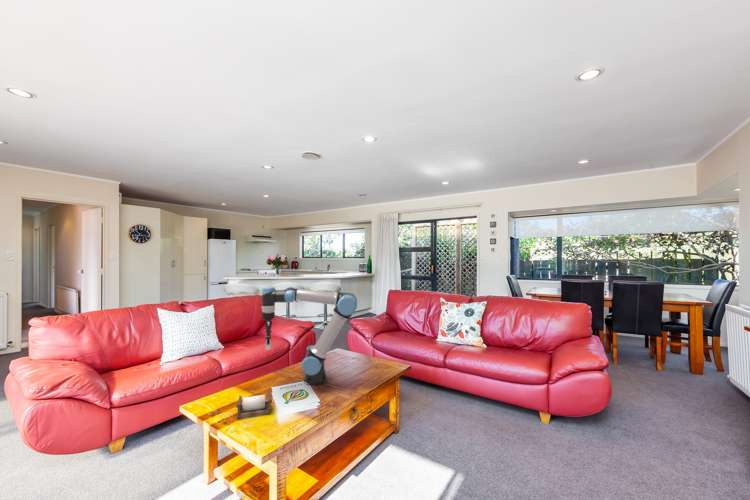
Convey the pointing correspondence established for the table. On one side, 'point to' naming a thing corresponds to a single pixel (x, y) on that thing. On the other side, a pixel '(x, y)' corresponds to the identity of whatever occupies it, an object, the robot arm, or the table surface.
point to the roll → (253, 403)
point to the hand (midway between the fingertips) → (268, 346)
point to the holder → (255, 412)
